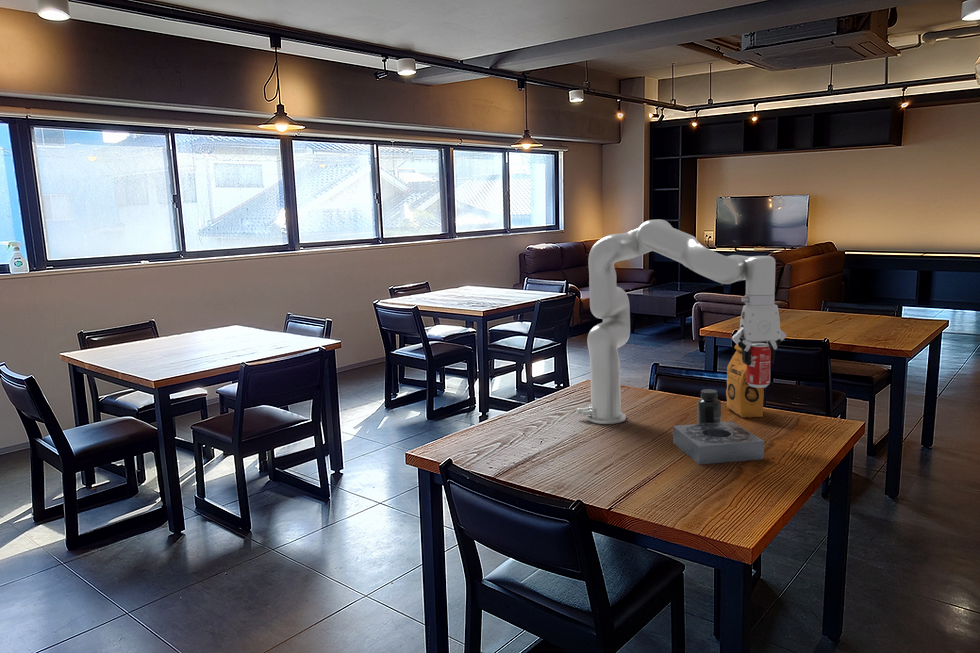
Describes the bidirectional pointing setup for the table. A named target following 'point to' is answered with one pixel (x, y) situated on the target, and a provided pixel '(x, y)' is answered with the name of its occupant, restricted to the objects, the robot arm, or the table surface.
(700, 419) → the supplement bottle
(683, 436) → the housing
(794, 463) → the table surface
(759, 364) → the beverage can
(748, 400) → the coffee package
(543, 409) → the table surface
